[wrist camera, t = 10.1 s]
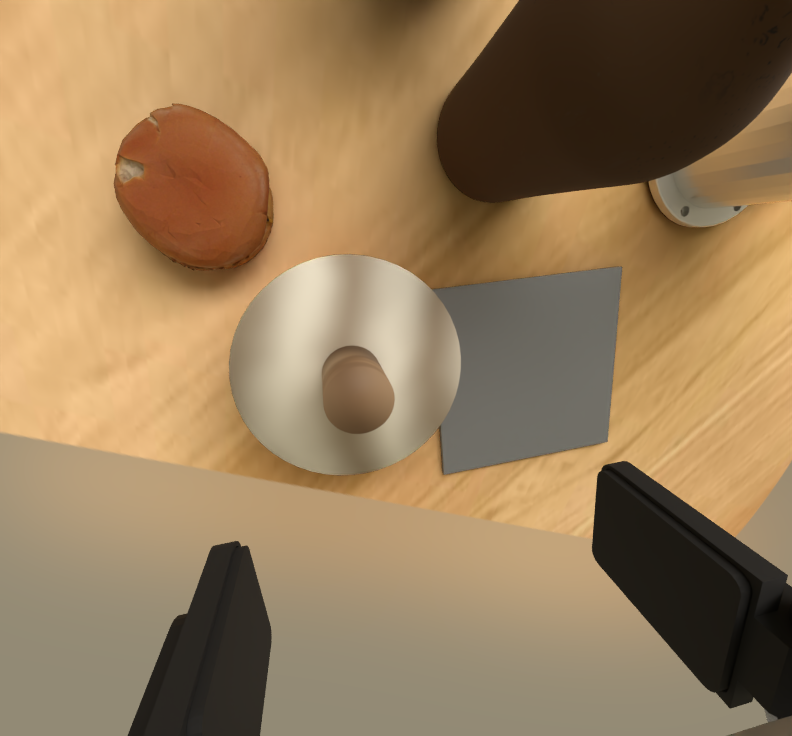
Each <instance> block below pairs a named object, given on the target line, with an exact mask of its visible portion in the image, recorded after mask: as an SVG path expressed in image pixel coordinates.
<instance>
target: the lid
mask: <svg viewBox="0 0 792 736" xmlns="http://www.w3.org/2000/svg"><path fill="white" fill-rule="evenodd" d="M460 372H461V354H460V345H459V340H458V336H457V332H456V329H455V326H454V324H453V321H452V319H451V316H450V315H449V313H448V311H447V310H446V308H445V306H444V304H443V303H442V302H441V300H440V299H439V298H438V296H437V295H436V294H435V293H434V292H433V291H432V290H431V289H430V288H429V287H428V286H427V285H426V284H425V283H424V282H423V281H422V280H420V279H419V278H418V277H416V276H415V275H414V274H412V273H411V272H409V271H407V270H405V269H404V268H402V267H400V266H398V265H396V264H393V263H390V262H388V261H385V260H382V259H378V258H374V257H369V256H364V255H353V254H341V255H330V256H324V257H319V258H315V259H312V260H309V261H306V262H303V263H301V264H299V265H297V266H295V267H293V268H290V269H288V270H287V271H285V272H284V273H282V274H281V275H279V276H278V277H276V278H275V279H274V280H272V281H271V282H270V283H269V284H268V285H267V286H266V287H265V288H264V289H262V290H261V291H260V292H259V294H258V295H257V296H256V297H255V298H254V300H253V301H252V302H251V303H250V304H249V306H248V308H247V309H246V311H245V313H244V314H243V316H242V317H241V320H240V322H239V324H238V326H237V329H236V331H235V334H234V338H233V341H232V345H231V350H230V359H229V379H230V384H231V390H232V395H233V398H234V401H235V404H236V407H237V409H238V411H239V413H240V415H241V417H242V419H243V421H244V422H245V424H246V425H247V427H248V428H249V430H250V431H251V433H252V434H253V435H254V436H255V437H256V438H257V439H258V440H259V441H260V443H261V444H263V445H264V446H265V447H266V448H267V449H268V450H270V451H271V452H272V453H273V454H275V455H277V456H278V457H280V458H281V459H283V460H284V461H286V462H288V463H291V464H293V465H295V466H297V467H300V468H303V469H306V470H308V471H312V472H317V473H322V474H329V475H355V474H362V473H368V472H372V471H376V470H379V469H382V468H385V467H387V466H390V465H392V464H394V463H396V462H398V461H400V460H402V459H404V458H406V457H407V456H409V455H410V454H412V453H413V452H415V451H416V450H417V449H418V448H420V447H421V446H422V445H423V444H424V443H425V442H426V441H427V440H428V439H429V438H430V437H431V436H432V435H433V434H434V433H435V432H436V430H437V429H438V428H439V426H440V425H441V424H442V422H443V421H444V419H445V417H446V416H447V414H448V412H449V410H450V408H451V406H452V403H453V401H454V398H455V396H456V392H457V388H458V385H459V379H460Z"/></svg>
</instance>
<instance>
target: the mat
mask: <svg viewBox="0 0 792 736" xmlns="http://www.w3.org/2000/svg"><path fill="white" fill-rule="evenodd" d="M621 275H622V267H610V268H602V269H594V270H586V271H578V272H570V273H561V274H553V275H545V276H537V277H529V278H521V279H513V280H504V281H496V282H488V283H480V284H472V285H464V286H456V287H448V288H439V289H431V290H432V291H433V292H434V293H435V294H436V295H437V296H438V298H439V299H440V300H441V302H442V303H443V304H444V306H445V308H446V310H447V311H448V313H449V315H450V316H451V319H452V321H453V324H454V326H455V329H456V332H457V336H458V340H459V345H460V354H461V372H460V379H459V385H458V388H457V392H456V396H455V398H454V401H453V403H452V406H451V408H450V410H449V412H448V414H447V416H446V417H445V419H444V421H443V422H442V424H441V425H440V441H441V456H442V471H443V474H444V475H445V474H450V473H455V472H460V471H465V470H470V469H475V468H480V467H485V466H490V465H495V464H500V463H505V462H510V461H515V460H520V459H525V458H530V457H535V456H540V455H545V454H550V453H555V452H560V451H565V450H569V449H574V448H579V447H584V446H589V445H594V444H599V443H604V442H607V441H608V429H609V417H610V406H611V394H612V382H613V370H614V358H615V346H616V334H617V323H618V311H619V299H620V287H621Z"/></svg>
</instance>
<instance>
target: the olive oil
mask: <svg viewBox="0 0 792 736" xmlns="http://www.w3.org/2000/svg"><path fill="white" fill-rule="evenodd" d="M791 73H792V0H519V1H518V3H517V4H516V5H515V7H514V8H513V10H512V11H511V12H510V14H509V15H508V16H507V18H506V19H505V21H504V22H503V23H502V25H501V26H500V27H499V29H498V30H497V32H496V33H495V34H494V36H493V37H492V38H491V40H490V41H489V43H488V44H487V45H486V47H485V48H484V49H483V51H482V52H481V53H480V55H479V56H478V57H477V59H476V60H475V61H474V63H473V64H472V65H471V67H470V68H469V69H468V70H467V72H466V73H465V74H464V75H463V77H462V78H461V79H460V81H459V82H458V83H457V84H456V86H455V87H454V88H453V90H452V91H451V93H450V94H449V96H448V98H447V100H446V102H445V104H444V106H443V109H442V111H441V115H440V118H439V123H438V131H437V143H438V151H439V156H440V160H441V163H442V165H443V168H444V170H445V172H446V174H447V176H448V177H449V179H450V180H451V182H452V183H453V184H454V185H455V186H456V187H457V188H458V189H459V190H460V191H461V192H462V193H464V194H465V195H467V196H469V197H470V198H473V199H475V200H478V201H482V202H489V203H495V202H504V201H510V200H515V199H521V198H527V197H533V196H541V195H548V194H556V193H563V192H571V191H579V190H587V189H596V188H604V187H613V186H622V185H630V184H637V183H642V182H647V181H651V180H654V179H658V178H661V177H664V176H667V175H669V174H672V173H674V172H677V171H679V170H681V169H683V168H685V167H687V166H689V165H691V164H693V163H694V162H696V161H698V160H700V159H702V158H703V157H705V156H707V155H708V154H710V153H712V152H713V151H715V150H716V149H718V148H720V147H721V146H723V145H724V144H725V143H727V142H728V141H730V140H731V139H732V138H734V137H735V136H736V135H737V134H739V133H740V132H741V131H742V130H743V129H744V128H746V127H747V126H748V125H749V124H750V123H751V122H752V121H753V120H754V119H755V118H756V117H757V116H758V115H759V114H760V113H761V112H762V111H763V110H764V108H765V107H766V106H767V105H768V104H769V103H770V102H771V100H772V99H773V98H774V97H775V95H776V94H777V93H778V91H779V90H780V89H781V87H782V86H783V85H784V83H785V82H786V80H787V79H788V77H789V76H790V75H791Z"/></svg>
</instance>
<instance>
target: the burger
mask: <svg viewBox="0 0 792 736" xmlns="http://www.w3.org/2000/svg"><path fill="white" fill-rule="evenodd" d="M172 105H173V106H171V107H167V108H162V109H157V110H155V111H153V112H151V114H150V117H149V118H145V119H144V120H143V121H141V122H140V123H138V124H137V125H136V126H135V127H134V128H133V129H132V130H131V131H130V133H129V134H128V135H127V136H126V137H125V138H124V139H123V141H122V143H121V146H120V149H119V151H118V154H117V159H116V164H115V165H116V174H115V180H114V188H115V193H116V198H117V200H118V202H119V204H120V207H121V209H122V211H123V212H124V214H125V215H126V216H127V218H128V219H129V221H130V222H131V224H132V225H133V227H134V228H135V229H136V230H137V231H138V233H139V234H140V235H142V236H143V237H144V238H145V239H146V240H147V241H148V242H149V243H150V244H151V245H153V246H154V247H155V248H156V249H158V250H159V251H160V252H162V253H163V254H164V255H165V256H167V257H168V258H170V259H171V260H172V261H173V262H178V263H180V264H181V265H183V266H185V267H186V266H188V268H190V269H192V270H194V269H197V270H213V269H223V268H225V269H229V268H234V267H237V266H240V265H242V264H244V263H246V262H248V261H249V260H250V259H252V258H253V257H255V255H256V254H257V253H258V252H259V251H260V250H261V249H262V248H263V246H264V245H265V243H266V241H267V239H268V236H269V234H270V232H271V228H272V224H273V199H272V193H271V189H270V187H269V177H268V174H269V173H268V169H267V167H266V165H265V163H264V162H263V160H262V158H261V156H260V155H259V154H258V153H257V151H256V150H254V149H253V148H252V147H251V146H250V145H249V144H248V143H247V142H246V141H245V140H244V139H243V138H242V137H241V136H240V135H238V134H237V133H236V132H235V131H234V130H233V129H231V128H230V127H228V126H227V125H225V124H224V123H223V122H221V121H220V120H219V119H217V118H215V117H213V116H211V115H209V114H207V113H205V112H203V111H201V110H199V109H196V108H193V107H190V106H187V105H182V104H172Z"/></svg>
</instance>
